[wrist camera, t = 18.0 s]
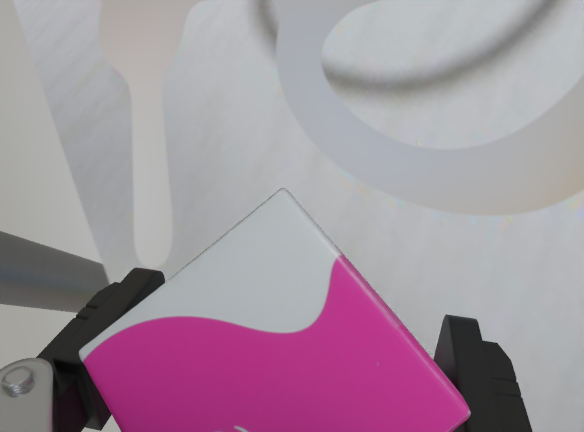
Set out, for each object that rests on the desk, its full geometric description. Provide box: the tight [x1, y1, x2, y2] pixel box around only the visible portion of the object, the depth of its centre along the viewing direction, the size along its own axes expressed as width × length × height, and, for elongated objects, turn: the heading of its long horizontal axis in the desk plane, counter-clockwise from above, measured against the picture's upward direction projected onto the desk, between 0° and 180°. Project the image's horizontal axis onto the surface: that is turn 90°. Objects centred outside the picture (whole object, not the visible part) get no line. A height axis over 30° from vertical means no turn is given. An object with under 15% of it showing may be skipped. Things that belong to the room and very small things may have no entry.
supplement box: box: [79, 188, 471, 432], centre depth 14 cm, size 6×6×12 cm
